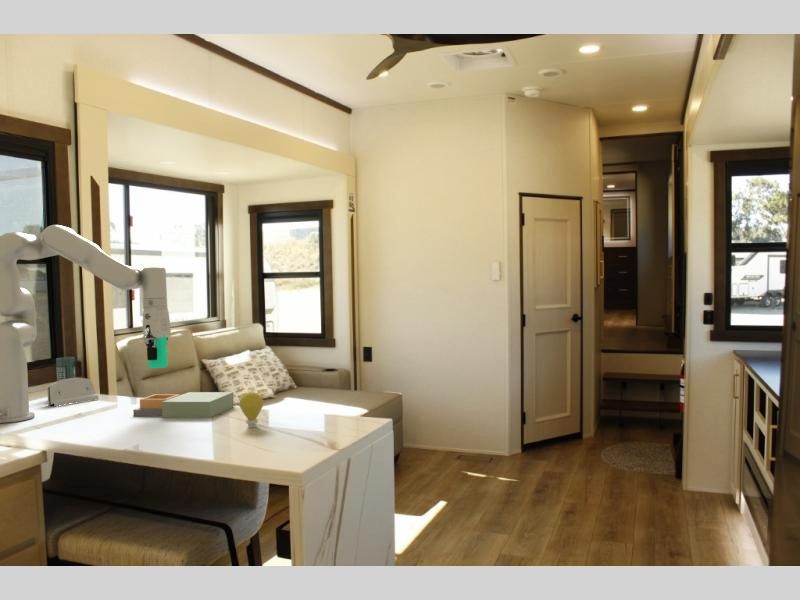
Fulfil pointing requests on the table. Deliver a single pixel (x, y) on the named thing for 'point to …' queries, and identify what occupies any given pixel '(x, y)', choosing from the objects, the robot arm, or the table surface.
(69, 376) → the can
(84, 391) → the hinge
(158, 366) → the candle
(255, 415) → the light bulb
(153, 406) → the desk organizer
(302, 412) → the table surface
